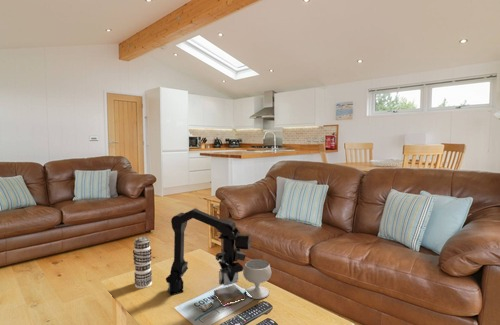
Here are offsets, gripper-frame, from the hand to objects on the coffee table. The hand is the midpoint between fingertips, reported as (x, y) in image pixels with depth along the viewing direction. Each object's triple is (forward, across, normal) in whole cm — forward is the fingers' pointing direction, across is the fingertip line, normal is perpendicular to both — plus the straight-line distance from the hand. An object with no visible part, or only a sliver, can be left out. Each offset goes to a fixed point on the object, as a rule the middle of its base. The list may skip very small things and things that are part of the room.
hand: (228, 279), depth 140 cm
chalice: (+10, -3, -14) cm, 17 cm away
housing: (+1, 0, 0) cm, 1 cm away
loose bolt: (+9, -3, +12) cm, 15 cm away
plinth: (+9, 0, 0) cm, 9 cm away
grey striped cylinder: (+10, +34, +34) cm, 49 cm away
